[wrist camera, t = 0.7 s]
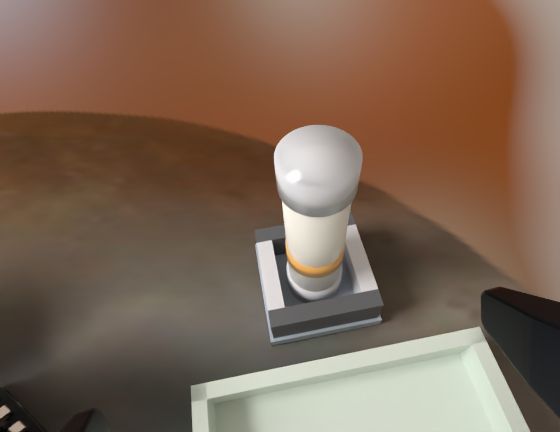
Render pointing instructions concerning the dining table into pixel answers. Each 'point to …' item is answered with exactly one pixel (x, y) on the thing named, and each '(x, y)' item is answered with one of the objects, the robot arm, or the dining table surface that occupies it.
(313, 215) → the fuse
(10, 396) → the battery charger
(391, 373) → the tray
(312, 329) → the tray
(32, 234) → the dining table surface
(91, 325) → the dining table surface
